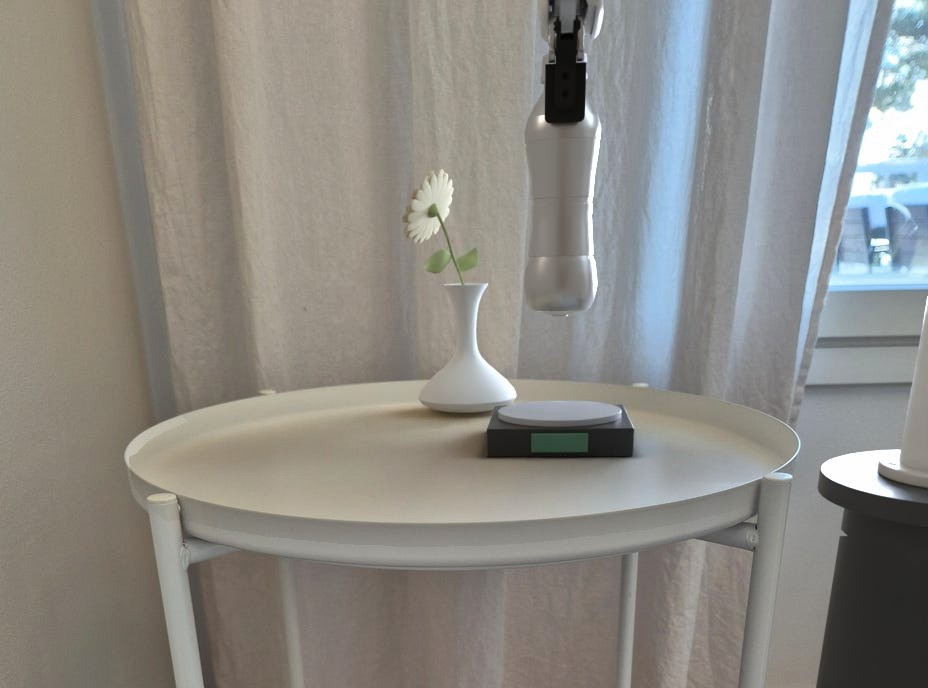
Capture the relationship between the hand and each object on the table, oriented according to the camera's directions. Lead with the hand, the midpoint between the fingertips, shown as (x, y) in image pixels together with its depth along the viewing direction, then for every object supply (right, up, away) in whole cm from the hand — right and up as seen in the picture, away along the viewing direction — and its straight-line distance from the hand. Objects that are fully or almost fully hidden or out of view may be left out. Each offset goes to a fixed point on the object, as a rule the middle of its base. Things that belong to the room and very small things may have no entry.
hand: (563, 125), depth 74 cm
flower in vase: (-8, -17, +29) cm, 34 cm away
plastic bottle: (0, -14, +6) cm, 15 cm away
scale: (+1, -24, +11) cm, 27 cm away
